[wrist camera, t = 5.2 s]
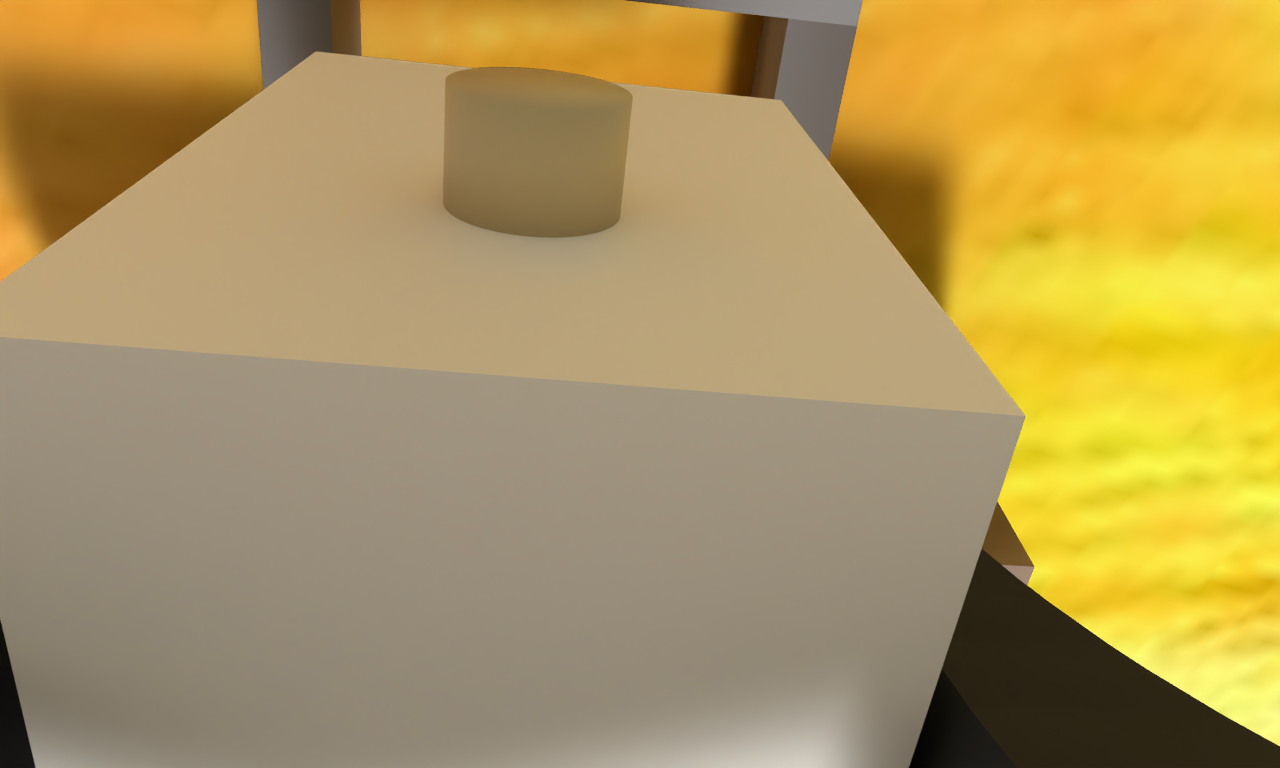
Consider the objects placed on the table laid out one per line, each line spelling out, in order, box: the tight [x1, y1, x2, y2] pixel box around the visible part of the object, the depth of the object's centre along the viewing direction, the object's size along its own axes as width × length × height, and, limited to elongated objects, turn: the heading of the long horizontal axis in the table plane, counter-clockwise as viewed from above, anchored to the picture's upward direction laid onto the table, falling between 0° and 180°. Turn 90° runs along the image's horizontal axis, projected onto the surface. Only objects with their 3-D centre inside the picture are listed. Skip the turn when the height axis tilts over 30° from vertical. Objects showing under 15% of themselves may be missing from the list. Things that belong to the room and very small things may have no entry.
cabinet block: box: [0, 51, 1025, 768], centre depth 9 cm, size 5×7×7 cm
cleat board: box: [257, 0, 1034, 585], centre depth 15 cm, size 16×10×5 cm, turn 84°
